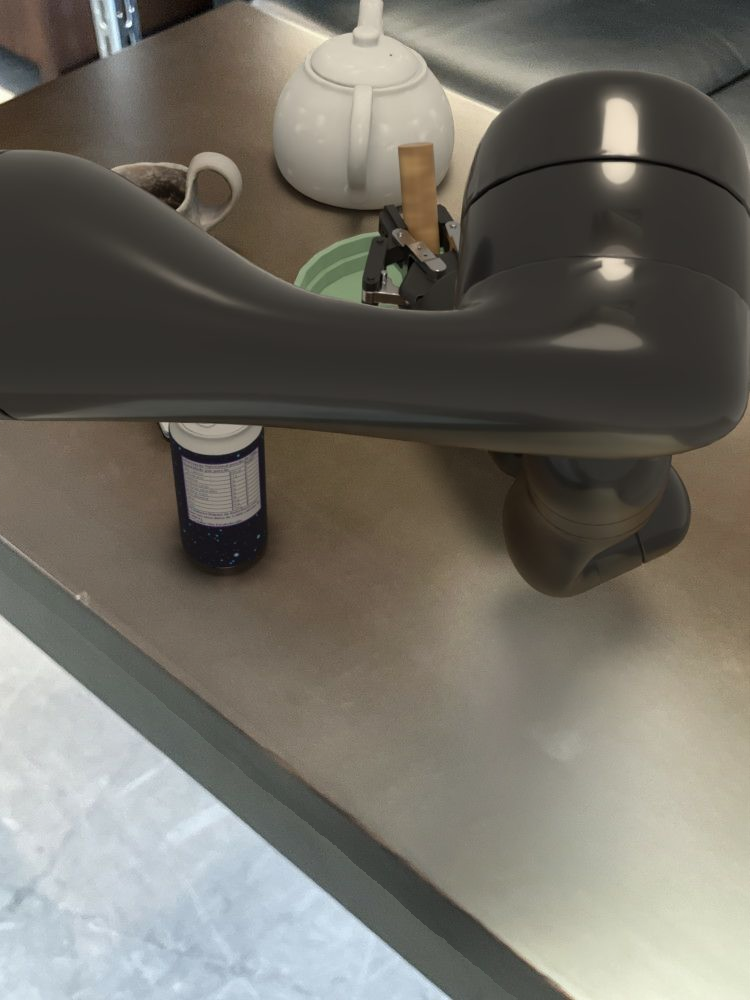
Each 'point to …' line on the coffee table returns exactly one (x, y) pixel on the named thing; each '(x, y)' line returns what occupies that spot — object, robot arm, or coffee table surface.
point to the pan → (342, 269)
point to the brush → (419, 193)
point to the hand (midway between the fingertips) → (407, 212)
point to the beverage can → (220, 491)
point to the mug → (187, 185)
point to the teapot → (359, 117)
